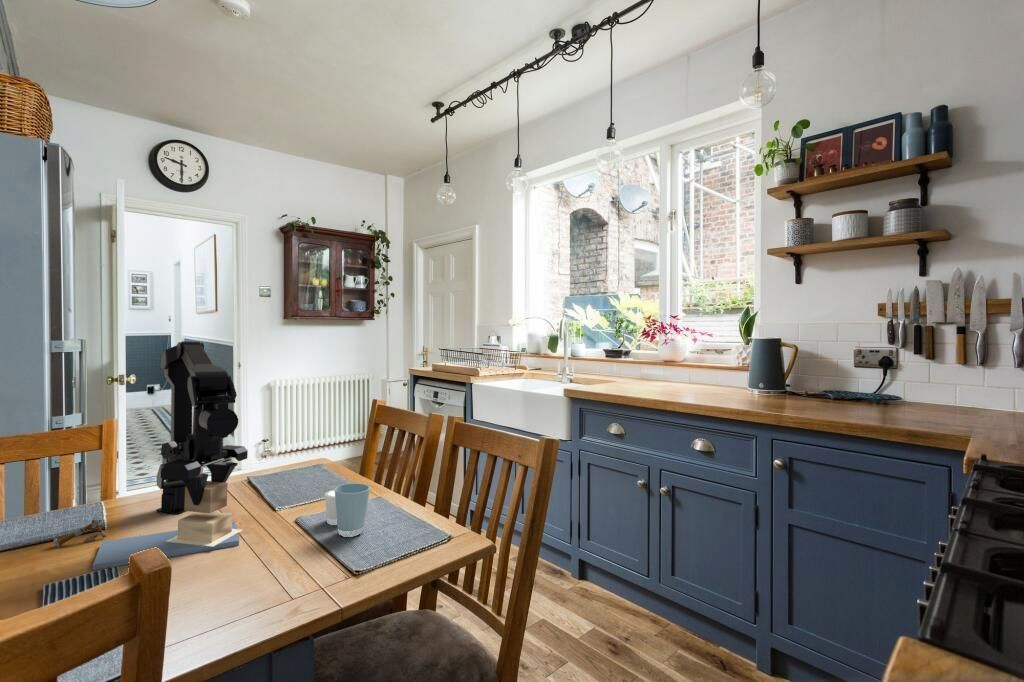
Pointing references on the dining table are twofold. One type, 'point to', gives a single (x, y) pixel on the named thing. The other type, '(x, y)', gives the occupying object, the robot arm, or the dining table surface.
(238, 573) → the dining table surface
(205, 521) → the beech block
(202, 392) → the robot arm
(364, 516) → the cup
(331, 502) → the shot glass
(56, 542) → the wooden post with brackets
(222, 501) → the walnut block
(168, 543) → the board
